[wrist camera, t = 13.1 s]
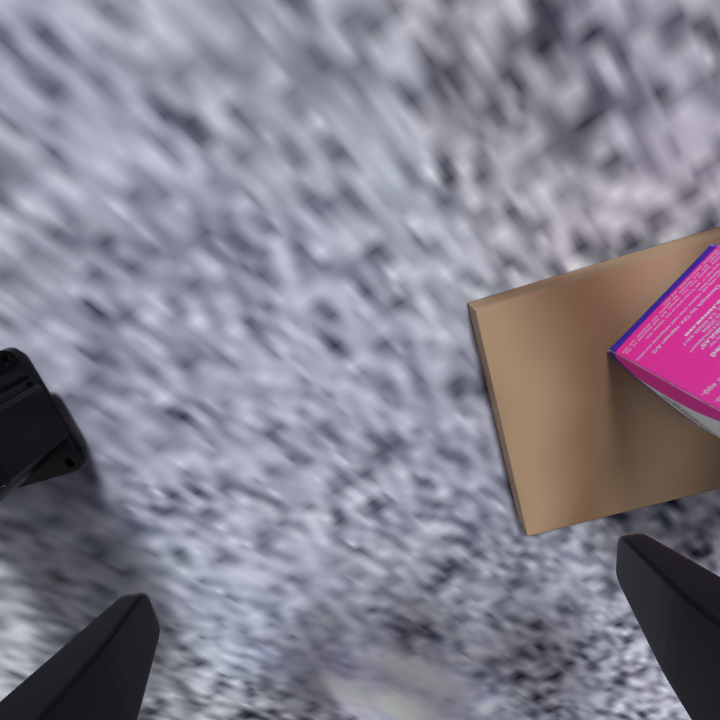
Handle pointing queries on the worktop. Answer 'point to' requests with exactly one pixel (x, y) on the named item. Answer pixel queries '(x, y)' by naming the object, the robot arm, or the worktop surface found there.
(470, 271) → the worktop surface
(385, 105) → the worktop surface
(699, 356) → the supplement box
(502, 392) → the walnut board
